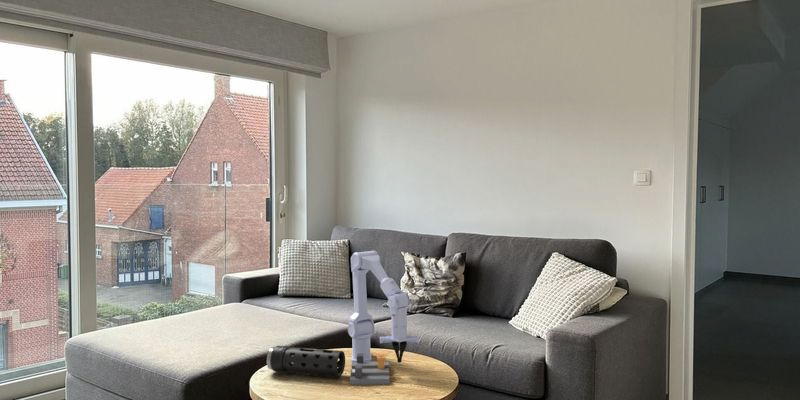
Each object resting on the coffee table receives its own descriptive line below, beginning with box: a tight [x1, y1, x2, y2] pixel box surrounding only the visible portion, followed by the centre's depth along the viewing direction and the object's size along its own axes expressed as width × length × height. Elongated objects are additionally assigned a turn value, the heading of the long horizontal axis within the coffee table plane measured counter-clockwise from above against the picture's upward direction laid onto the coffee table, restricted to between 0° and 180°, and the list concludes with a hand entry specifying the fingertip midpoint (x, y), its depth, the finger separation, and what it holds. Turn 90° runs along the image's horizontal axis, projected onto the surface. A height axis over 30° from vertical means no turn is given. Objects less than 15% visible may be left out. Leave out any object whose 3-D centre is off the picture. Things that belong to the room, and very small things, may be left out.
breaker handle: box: [376, 353, 386, 369], centre depth 225 cm, size 4×3×5 cm
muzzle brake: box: [266, 345, 346, 379], centre depth 226 cm, size 10×28×10 cm, turn 76°
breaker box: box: [349, 354, 390, 386], centre depth 225 cm, size 20×14×6 cm
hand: (399, 361), depth 225 cm, fingers closed
